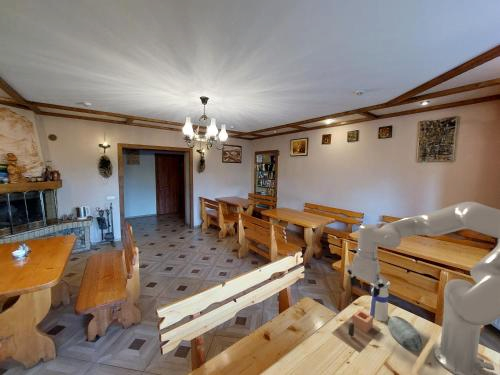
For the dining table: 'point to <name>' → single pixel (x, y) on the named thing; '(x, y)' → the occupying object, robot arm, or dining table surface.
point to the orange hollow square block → (362, 321)
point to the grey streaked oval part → (404, 333)
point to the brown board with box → (355, 335)
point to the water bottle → (380, 302)
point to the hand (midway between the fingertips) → (364, 290)
